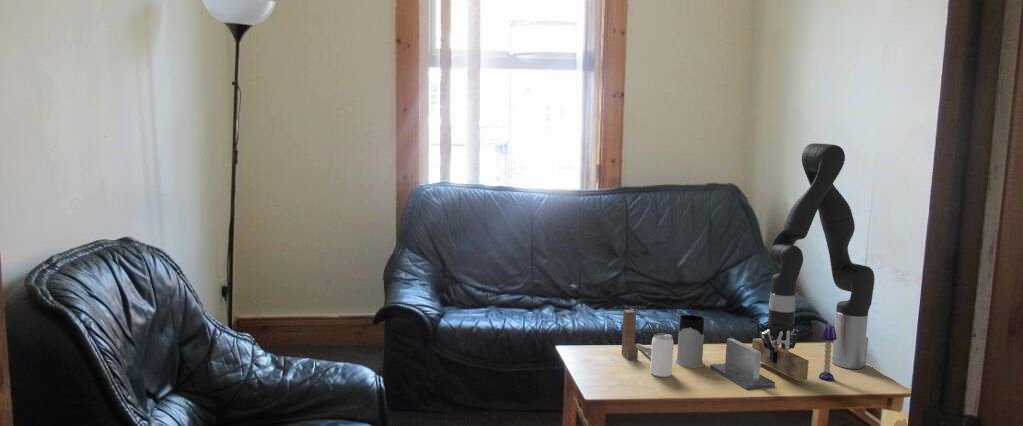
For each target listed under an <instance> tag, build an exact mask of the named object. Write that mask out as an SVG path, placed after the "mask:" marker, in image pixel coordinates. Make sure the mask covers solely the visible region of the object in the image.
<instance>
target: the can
mask: <svg viewBox="0 0 1023 426" xmlns="http://www.w3.org/2000/svg"><path fill="white" fill-rule="evenodd" d="M674 342H675V341H674V340H673V335H671V334H668V333H659V332H658V333H654V334H653V337H652V340H651V347H652V349H651V356H650V367H649V369H650V370H649V371H650V372H649V373H650V374H651V375H652V376H654V377H657V378H669V377H671V376H672V375H673V364H674V363H673V362H674Z"/></svg>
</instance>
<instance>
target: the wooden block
mask: <svg viewBox="0 0 1023 426" xmlns="http://www.w3.org/2000/svg"><path fill="white" fill-rule="evenodd" d="M622 317H623V319H622V333H621V334H622V335H621V336H622V337H621V340H622V341H621V355H623V357H624V358H626V360H628V361H637V360H638V358H639V349H638V348H637V347H636V322H637V312H636V311H635V310H634V309H623V315H622Z"/></svg>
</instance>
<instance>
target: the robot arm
mask: <svg viewBox="0 0 1023 426" xmlns="http://www.w3.org/2000/svg"><path fill="white" fill-rule="evenodd" d="M802 150H803V151H802V154H801V164H802V167H803V171H804V174H805V176H806V178H807V181H808V183H809V185H810V186H809V187H808V189H807V190H805V192H804V193H803V194H802V195H801V196H800V197H799V198H798V199H797V200H796V201H795V203H794V204H793V205H792V206H791V208H790V210H789V213H788V215H787V218H786V220H785V223H784V224H783V225H784V226H783V227H782V228H781V230H780V231H779V232H778V233H777V235H776V237H775V238H774V239H773V240H772V242H771V244H770V245H769V248H768V259H769V260H770V262H771V263H773V264H774V265H777V266H780V267H781V269H780V272H778V273H775V274H773V275H772V276H771V282H770V284H771V285H770V296H769V299H768V301H769V302H768V315H767V316H768V317H767V321H768V326H767V329H766V330H764V331H762V330H761V331H759V336H760V338H761V339H762V342H763V344H764V347H765V348H766V349H768V350H770V361H771V362H772V363H774V364H775V363H777V350H778V346H779V347H781V348H783V349H785V350H787V351H789V352H790V349H794V348H795V346H796V344H797V341H798V340H799V337H800V335H801V333H802V332H801V330H799V329H797V328H794V326H793V325H794V324H795V317H796V316H795V315H796V302H797V301H796V289H797V280H798V278H799V275H800V273H801V270H802V268H803V267H802V266H803V263H804V256H803V255H804V254H803V252H802V249H801V248H800V247H798V246H797V245H795V243H796V242H797V241H799V240H804V239H806V237H807V235H808V233H809V230H810V228H811V226H812V224H813V221H814V218H815V216H816V214H817V212H818V216H819V219H820V224H821V228H822V231H823V234H824V237H825V242H826V245H827V246H826V247H827V249H828V250H827V251H828V254H829V262H830V268H831V274H832V280H833V282H834V284H835V286H836V287H837V288H838V289H840V290H842V291H846V292H850V297H849V299H848V300H843V301H842V300H841V301H838V302H837V304H836V309H835V310H836V311H835V320H834V321H835V322H834V327H835V332H836V336H837V339H836V340H833V345H832V346H833V347H832V354H831V357H832V358H831V363H832V364H833V365H835V366H837V367H841V368H845V369H850V370H852V369H853V370H856V369H857V370H859V369H863V368H864V367H866V365H867V357H868V354H867V353H868V346H869V345H868V344H869V337H867V329H868V318H869V310H870V308H871V305H872V302H873V301H872V300H873V296H874V295H873V294H874V289H875V288H874V287H875V277H876V276H875V273H874V270H873V268H871V267H870V266H867V265H864V264H858V263H855V262H852V261H851V258H850V254H849V245H850V241H851V239H852V237H853V236H854V232H855V229H856V228H855V227H856V226H855V225H856V224H855V220H854V216H853V212H852V209H851V207H850V205H849V203H848V201H847V200H846V199H845V197H844V196H843V194H842V193H841V192H840V191H839V190H838V189H837V188H836V186H835V185H834V183H835V181H836V180H837V178H838V177H839V175H840V173H841V171H842V169H843V167H844V165H845V161H846V155H845V151H844V149H843V148H842V147H841V146H839V145H837V144H829V143H810V144H807V145H806V146H805V147H804V149H802Z"/></svg>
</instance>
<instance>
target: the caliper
mask: <svg viewBox="0 0 1023 426" xmlns="http://www.w3.org/2000/svg"><path fill="white" fill-rule="evenodd" d="M635 345H636V347H637V348H638V350H640V351H642V352H645V353H647V356H649V357H651V349H652V346H645V345H643V344H641V343H635Z"/></svg>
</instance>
